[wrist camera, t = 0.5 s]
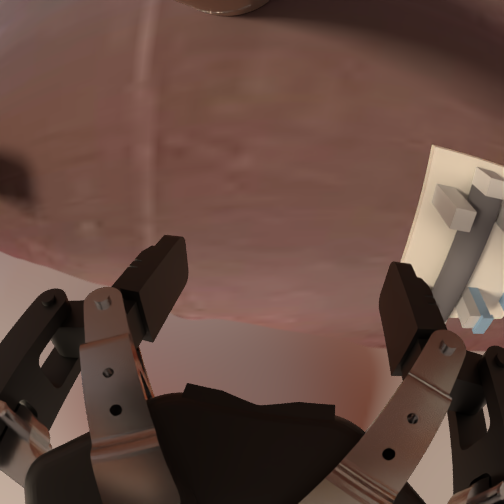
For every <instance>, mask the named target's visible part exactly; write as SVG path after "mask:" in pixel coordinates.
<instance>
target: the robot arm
mask: <svg viewBox="0 0 504 504" xmlns="http://www.w3.org/2000/svg"><path fill="white" fill-rule="evenodd" d="M175 1H177V2H180V3H182V4H185V5H187V6H190V7H193V8H195V9H198V10H199V11H202V12H205V13H208V14H212V15H217V16H234V15H241V14H244V13H247V12H251V11H253V10H255V9H257V8H259V7H261V6H263V5H264V4H266V3H267V2H268V1H270V0H175ZM187 279H188V262H187V253H186V244H185V239H184V238H183V237H180V236H171V235H164V236H163V237H162V238H161V239H160V241H159V242H158V243H157V244H156V245H155V246H150V247H149V248H147V249H145V250H144V251H142V252H141V253H140V254H139V255H138V256H137V257H136V259H135V261H133V262H132V263H131V264H130V267H128V268H127V269H126V270H125V271H124V272H123V274H122V275H121V276H120V277H119V278H118V280H117V281H116V282H115V283H114V284H113V286H112V287H103V288H99V289H97V290H95V291H93V292H92V293H90V294H89V295H88V296H87V297H86V299H85V300H83V301H68V298H67V296H66V294H65V292H64V291H63V290H61V289H50V290H47V291H45V292H43V293H42V294H40V296H38V297H37V298H36V300H35V301H34V302H33V303H32V304H31V305H30V307H29V308H28V309H27V310H26V311H25V312H24V314H23V315H22V316H21V317H20V319H19V320H18V321H17V322H16V324H15V325H14V326H13V327H12V329H11V330H10V331H9V332H8V334H7V335H6V336H5V338H4V339H3V340H2V342H1V343H0V470H1V471H3V472H4V473H5V474H6V475H8V476H9V477H10V478H12V479H13V480H14V481H15V482H17V483H18V484H20V485H21V486H22V487H24V490H25V504H426V503H425V502H424V501H423V499H422V498H421V497H420V496H419V495H418V494H417V493H416V491H415V490H414V489H413V488H412V487H411V486H410V484H409V483H408V482H407V480H408V479H409V477H410V476H411V474H412V473H413V471H414V470H415V468H416V466H417V465H418V463H419V462H420V460H421V458H422V457H423V455H424V453H425V452H426V450H427V448H428V447H429V445H430V443H431V441H432V439H433V438H434V436H435V434H436V432H437V430H438V428H439V426H440V424H441V422H442V420H443V418H444V416H445V414H446V412H447V414H448V421H449V429H450V438H451V449H452V463H453V491H454V492H453V496H452V497H451V498H450V500H449V502H448V504H504V348H502V347H499V346H491V347H489V348H488V349H487V351H486V352H485V353H484V355H480V354H477V353H473V352H470V351H467V350H466V346H465V344H464V342H463V340H462V339H461V338H460V337H459V336H458V335H457V334H455V333H454V332H452V331H449V330H447V328H446V325H445V323H444V320H443V318H442V315H441V313H440V310H439V308H438V305H436V304H437V303H436V301H435V298H433V294H432V292H431V289H430V287H429V286H428V285H427V284H426V282H425V281H424V280H423V279H422V278H419V277H417V276H416V274H415V271H414V269H413V267H412V265H411V264H410V263H401V262H392V263H391V264H390V266H389V269H388V273H387V276H386V279H385V282H384V285H383V288H382V291H381V294H380V298H379V311H380V316H381V321H382V326H383V331H384V336H385V341H386V347H387V352H388V358H389V365H390V371H391V376H402V379H403V382H402V383H401V385H400V386H399V387H398V389H397V390H396V392H395V393H394V395H393V396H392V398H391V399H390V400H389V402H388V403H387V404H386V406H385V407H384V409H383V410H382V411H381V413H380V414H379V415H378V417H377V418H376V419H375V420H374V422H373V423H372V424H371V426H370V427H369V428H368V429H367V430H366V432H364V431H363V430H362V429H361V428H359V427H358V426H357V425H355V424H353V423H352V422H350V421H348V420H346V419H344V418H341V417H339V416H335V405H327V404H315V403H304V402H294V403H284V404H273V405H256V404H253V403H250V402H248V401H245V400H243V399H241V398H238V397H236V396H233V395H231V394H229V393H226V392H224V391H222V390H216V389H211V388H207V387H203V386H198V385H194V384H189V383H187V385H186V387H185V390H184V392H183V393H170V394H164V395H160V396H157V397H155V395H154V393H153V390H152V387H151V384H150V381H149V378H148V375H147V371H146V368H145V365H144V361H143V358H142V354H141V350H140V348H139V345H140V343H141V341H142V340H145V341H149V342H154V340H155V338H156V337H157V335H158V333H159V331H160V329H161V327H162V326H163V324H164V322H165V320H166V319H167V317H168V315H169V313H170V311H171V310H172V308H173V306H174V304H175V303H176V301H177V299H178V297H179V296H180V294H181V292H182V290H183V289H184V287H185V285H186V283H187ZM50 340H51V341H52V343H53V344H54V346H55V347H54V349H53V350H52V352H51V353H50V355H49V356H48V358H47V359H46V361H45V362H44V364H43V365H42V367H41V368H40V366H39V357H40V354H41V353H42V351H43V350H44V348H45V347H46V345H47V344H48V342H49V341H50ZM80 371H81V376H82V385H83V393H84V400H85V407H86V414H87V420H88V425H89V432H87V433H85V434H84V435H81V436H79V437H77V438H75V439H73V440H71V441H69V442H67V443H65V444H63V445H61V446H59V447H57V448H55V449H52V446H51V444H50V434H49V430H50V428H51V426H52V424H53V422H54V420H55V418H56V416H57V414H58V412H59V410H60V408H61V406H62V404H63V402H64V401H65V399H66V397H67V395H68V393H69V391H70V389H71V388H72V386H73V384H74V382H75V380H76V378H77V377H78V375H79V373H80ZM486 404H487V407H488V412H489V417H490V427H489V430H488V432H487V429H486V423H485V418H484V413H483V407H484V406H485V405H486Z"/></svg>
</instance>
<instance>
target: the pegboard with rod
mask: <svg viewBox="0 0 504 504" xmlns="http://www.w3.org/2000/svg"><path fill="white" fill-rule="evenodd" d="M476 167H480V168H483V169H487V170H490V171H494V172H495V173H496V174H498V175H499V176H500V177H502V178H503V179H504V166H503V165H500V164H497V163H494V162H491V161H489V160H485V159H482V158H479V157H476V156H473V155H470V154H466V153H463V152H459V151H456V150H452V149H449V148H445V147H441V146H437V145H433V144H432V147H431V152H430V157H429V162H428V166H427V171H426V175H425V180H424V184H423V188H422V192H421V196H420V200H419V203H418V207H417V211H416V214H415V218H414V221H413V224H412V228H411V231H410V234H409V237H408V241H407V244H406V247H405V250H404V253H403V256H402V259H401V261H400V262H401V263H410V264H411V265H412V267H413V269H414V271H415V274H416V276H417V277H419V278H422V279H423V280H424V281H425V282H426V284H427V285H428V286H429V287H430V289H431V291H432V289H433V287H434V284H435V282H436V280H437V278H438V276H439V273H440V271H441V269H442V267H443V264H444V262H445V260H446V257H447V255H448V252H449V250H450V247H451V245H452V242H453V240H454V237H455V234H456V232H457V230H459V231H464V232H470V230H471V227H472V224H473V222H474V219H475V216H476V213H477V212H476V211H475V209H474V208H473V207H472V206H471V205H470V204H469V202H468V201H467V199H468V196H469V192H470V189H471V186H472V181H473V177H474V173H475V170H476ZM503 316H504V198H503V200H502V203H501V206H500V209H499V212H498V215H497V217H496V220H495V223H494V225H493V228H492V230H491V233H490V235H489V238H488V240H487V243H486V245H485V247H484V250H483V252H482V254H481V256H480V259H479V261H478V263H477V265H476V267H475V269H474V271H473V273H472V275H471V277H470V279H469V281H468V283H467V285H466V287H465V289H464V291H463V293H462V295H461V297H460V298H459V300H458V302H457V304H456V306H455V307H454V309H453V311H452V313H451V314H450V316H449V317H450V318H459V319H460V322H461V325H462V328H473V329H472V331H473V334H484V332H485V331H486V330H487V328H488V327H489V325H490V324H491V322H492V321H493V319H502V318H503Z"/></svg>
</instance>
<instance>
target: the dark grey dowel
mask: <svg viewBox="0 0 504 504" xmlns="http://www.w3.org/2000/svg"><path fill="white" fill-rule="evenodd" d="M503 198H504V179H503V178H502V177H500V176H499V175H498V174H496V173H495V172H494V171H490V170H487V169H483V168H480V167H476V170H475V173H474V177H473V181H472V186H471V189H470V192H469V196H468V199H467V201H468V202H469V204H470V205H471V206H472V207H473V208H474V209H475V211H476V212H477V213H476V216H475V219H474V222H473V224H472V227H471V230H470V232H464V231H459V230H457V232H456V234H455V237H454V240H453V242H452V245H451V247H450V250H449V252H448V255H447V257H446V260H445V262H444V264H443V267H442V269H441V271H440V273H439V276H438V278H437V280H436V282H435V284H434V287H433V289H432V291H431V292H432V294H433V298H435V301H436V303H437V304H436V305H438V308H439V310H440V313H441V315H442V318H443V320H444V323H446V322H447V319H448V318H449V316H450V314H451V313H452V311H453V309H454V307H455V306H456V304H457V302H458V300H459V298H460V297H461V295H462V293H463V291H464V289H465V287H466V285H467V283H468V281H469V279H470V277H471V275H472V273H473V271H474V269H475V267H476V265H477V263H478V261H479V259H480V256H481V254H482V252H483V250H484V247H485V245H486V243H487V240H488V238H489V235H490V233H491V230H492V228H493V225H494V223H495V220H496V217H497V215H498V212H499V209H500V206H501V203H502V200H503Z"/></svg>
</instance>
